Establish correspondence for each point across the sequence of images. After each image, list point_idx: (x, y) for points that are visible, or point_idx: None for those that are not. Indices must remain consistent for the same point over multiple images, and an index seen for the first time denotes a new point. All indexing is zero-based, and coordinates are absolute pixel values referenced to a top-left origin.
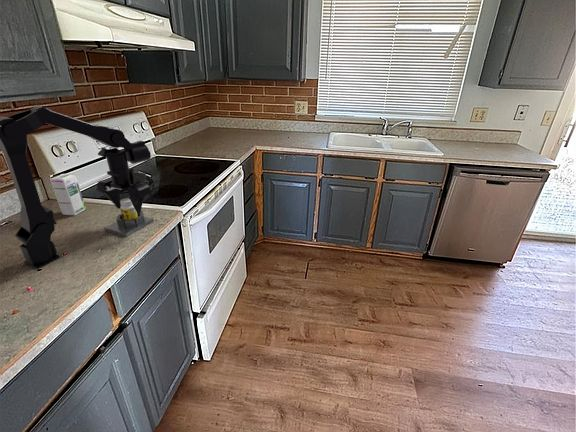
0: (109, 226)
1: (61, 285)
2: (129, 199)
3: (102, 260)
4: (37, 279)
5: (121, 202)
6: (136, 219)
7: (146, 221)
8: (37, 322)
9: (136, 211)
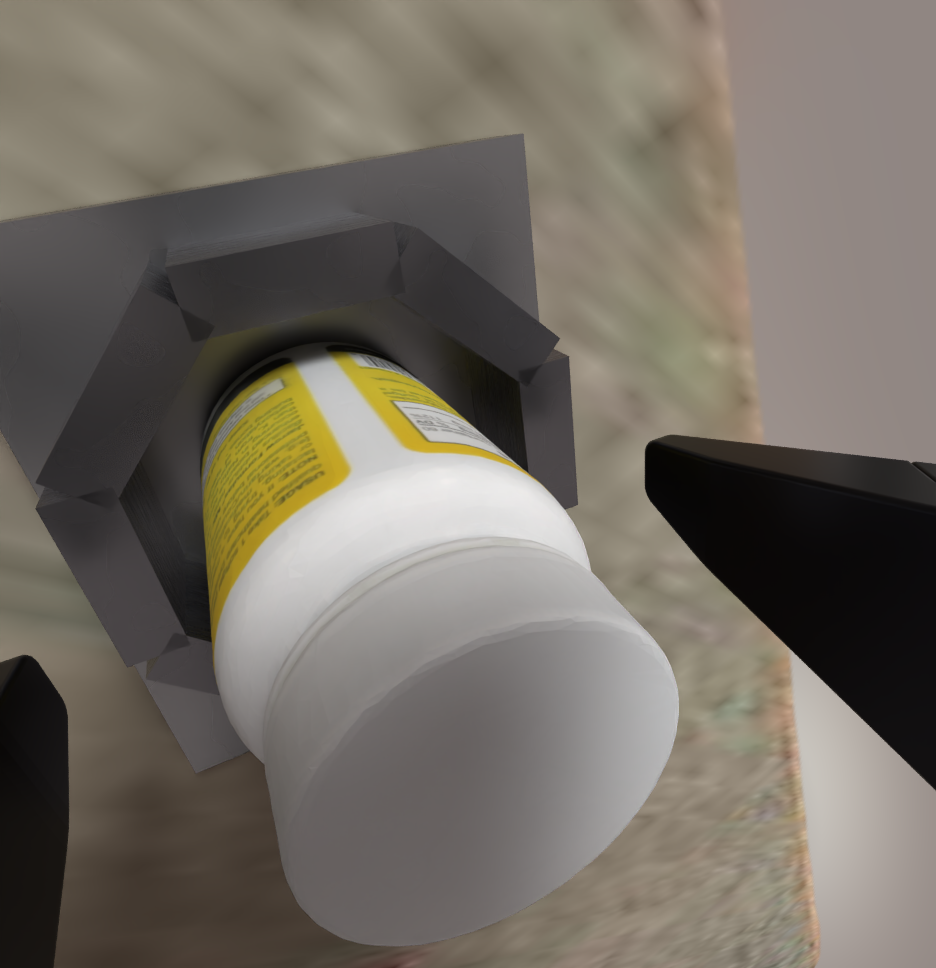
0: (207, 719)
1: (670, 932)
2: (547, 711)
3: (668, 791)
4: None
5: (517, 902)
6: (574, 489)
7: (515, 285)
8: (767, 954)
9: (679, 533)
